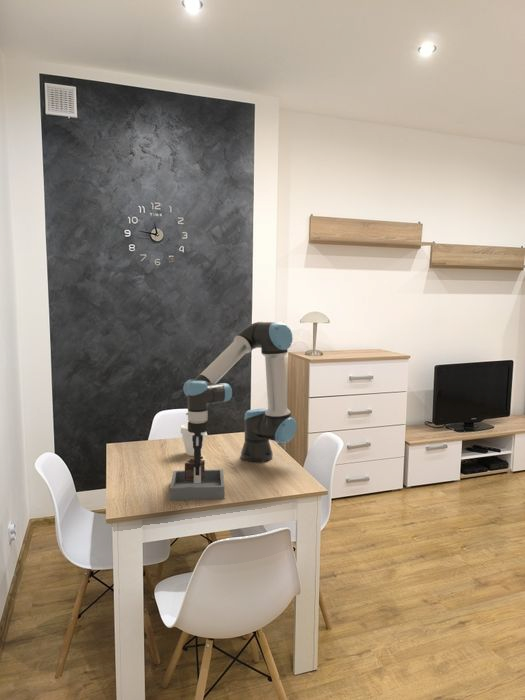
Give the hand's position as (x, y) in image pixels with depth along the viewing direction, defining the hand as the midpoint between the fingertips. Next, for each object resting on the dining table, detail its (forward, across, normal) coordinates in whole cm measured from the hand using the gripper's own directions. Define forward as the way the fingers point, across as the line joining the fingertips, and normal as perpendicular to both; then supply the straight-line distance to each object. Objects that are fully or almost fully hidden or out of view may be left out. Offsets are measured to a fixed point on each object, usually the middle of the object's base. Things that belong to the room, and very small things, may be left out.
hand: (197, 479), depth 191 cm
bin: (+4, 0, 0) cm, 4 cm away
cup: (+4, -49, -3) cm, 49 cm away
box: (+1, 0, -1) cm, 1 cm away
